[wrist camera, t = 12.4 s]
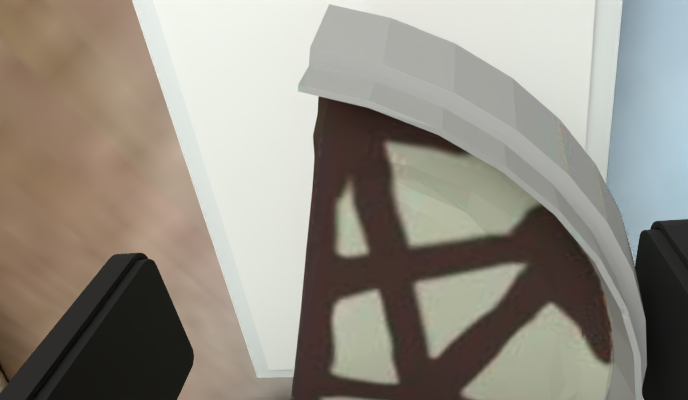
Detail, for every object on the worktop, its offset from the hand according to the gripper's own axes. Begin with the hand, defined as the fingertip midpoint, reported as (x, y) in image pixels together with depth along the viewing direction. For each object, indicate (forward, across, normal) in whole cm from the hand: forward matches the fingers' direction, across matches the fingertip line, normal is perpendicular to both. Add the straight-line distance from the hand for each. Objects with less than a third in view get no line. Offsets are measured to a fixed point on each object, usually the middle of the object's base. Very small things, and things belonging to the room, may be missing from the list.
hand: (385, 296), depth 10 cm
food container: (+8, -1, +1) cm, 8 cm away
